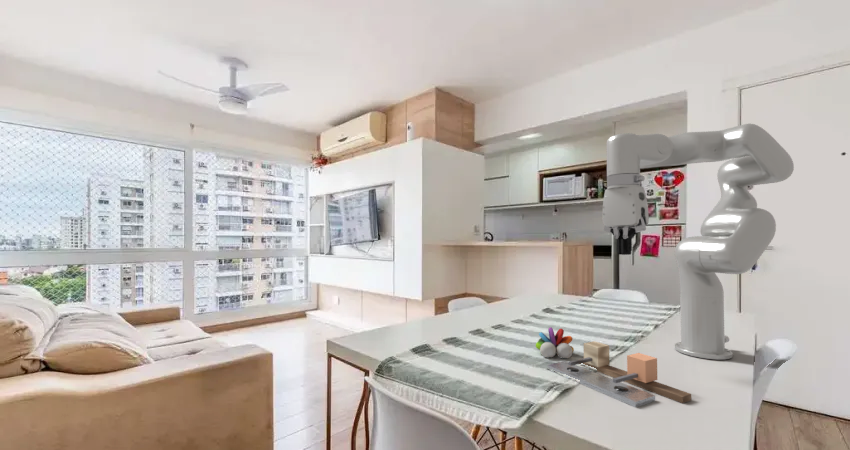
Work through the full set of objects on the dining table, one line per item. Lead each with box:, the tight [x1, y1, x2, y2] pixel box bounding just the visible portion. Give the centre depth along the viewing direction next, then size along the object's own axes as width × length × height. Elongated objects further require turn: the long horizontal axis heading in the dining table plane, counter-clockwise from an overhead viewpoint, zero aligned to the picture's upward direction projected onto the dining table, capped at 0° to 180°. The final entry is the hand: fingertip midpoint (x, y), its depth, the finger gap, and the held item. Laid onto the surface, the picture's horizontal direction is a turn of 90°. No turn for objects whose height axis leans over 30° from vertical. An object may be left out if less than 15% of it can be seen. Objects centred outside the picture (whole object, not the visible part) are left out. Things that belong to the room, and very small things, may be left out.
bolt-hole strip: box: [546, 360, 656, 408], centre depth 80 cm, size 6×22×1 cm, turn 27°
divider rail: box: [567, 340, 692, 404], centre depth 80 cm, size 11×24×6 cm, turn 27°
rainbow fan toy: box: [535, 327, 575, 359], centre depth 99 cm, size 8×10×7 cm
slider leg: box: [612, 352, 658, 383], centre depth 77 cm, size 11×4×4 cm, turn 117°
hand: (624, 254), depth 94 cm, fingers closed
